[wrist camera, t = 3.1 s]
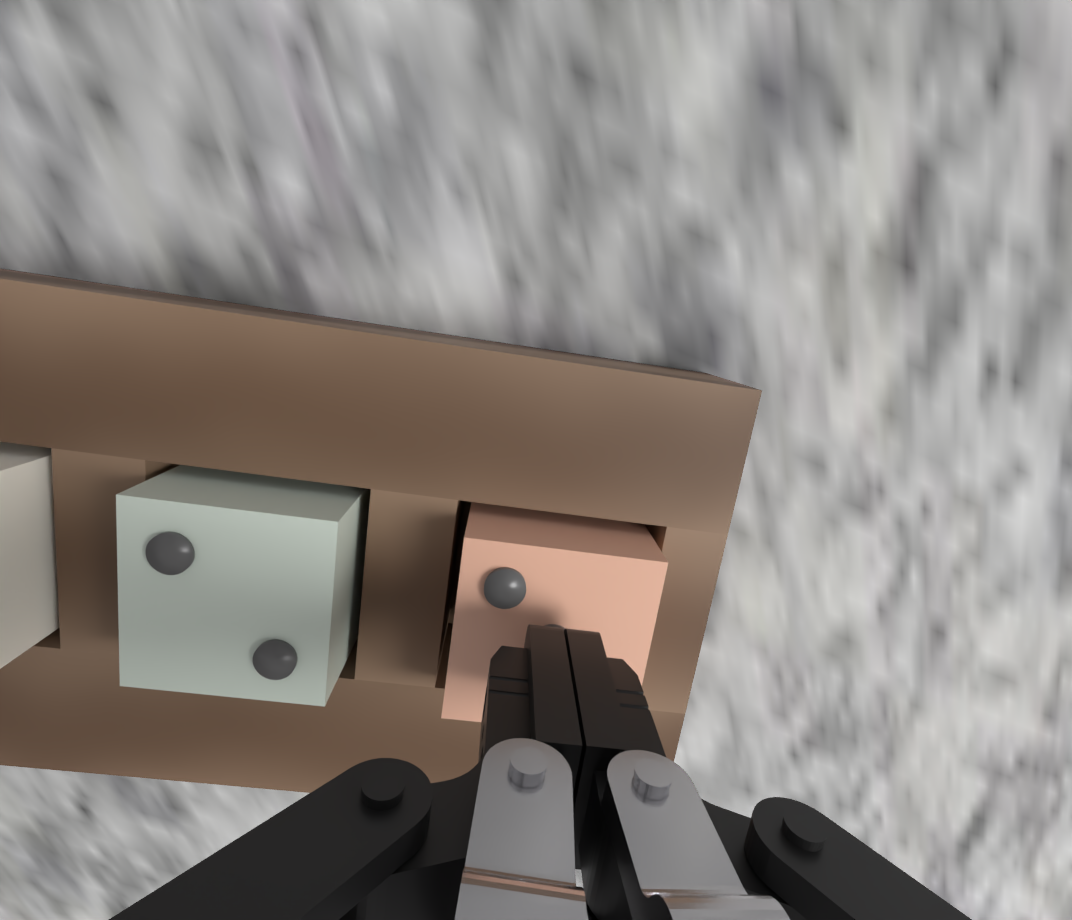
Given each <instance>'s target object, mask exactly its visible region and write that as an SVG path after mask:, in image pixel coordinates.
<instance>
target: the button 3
mask: <svg viewBox="0 0 1072 920" xmlns="http://www.w3.org/2000/svg"><path fill="white" fill-rule="evenodd" d="M667 567H668V561H667V560H666V558H665V556H664V555H663V553H662V552H661V550H660V548H659V547H658V545H657V544H656V542H655V540H654V539H653V537H652V536H651V534H650V532H649V531H648V529H647V528H646V526H645V524H641V523H633V522H625V521H618V520H610V519H602V518H594V517H586V516H578V515H571V514H563V513H555V512H547V511H539V510H532V509H524V508H516V507H508V506H500V505H492V504H485V503H477V502H471V507H470V512H469V516H468V521H467V526H466V531H465V535H464V542H463V550H462V558H461V566H460V574H459V581H458V589H457V597H456V605H455V613H454V621H453V629H452V637H451V645H450V652H449V660H448V668H447V676H446V684H445V692H444V700H443V708H442V716H441V718H444V719H454V720H464V721H474V722H481V721H482V714H483V707H484V701H485V694H486V687H487V680H488V673H489V666H490V660H491V658H492V657H493V655H494V654H495V653H496V652H497V651H498V649H499V648H500V647H501V646H510V647H519V648H524V644H525V637H526V632H527V627H528V625H529V624H532V625H541V626H549V627H558V628H563V630H564V629H565V628H568V629H576V630H585V631H594V632H599V633H600V635H601V638H602V642H603V645H604V649H605V653H606V656H607V657H609V658H618V659H623V660H624V661H625V662H626V663H627V664H628V665H629V666H630V667H631V668H632V669H633V671H634V672H635V673H636V674H637V675H638V677H639V680H640V683H641V686H642V683H643V678H644V674H645V669H646V664H647V660H648V655H649V651H650V646H651V641H652V637H653V632H654V627H655V623H656V618H657V613H658V609H659V604H660V599H661V595H662V590H663V586H664V581H665V576H666V572H667Z"/></svg>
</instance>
